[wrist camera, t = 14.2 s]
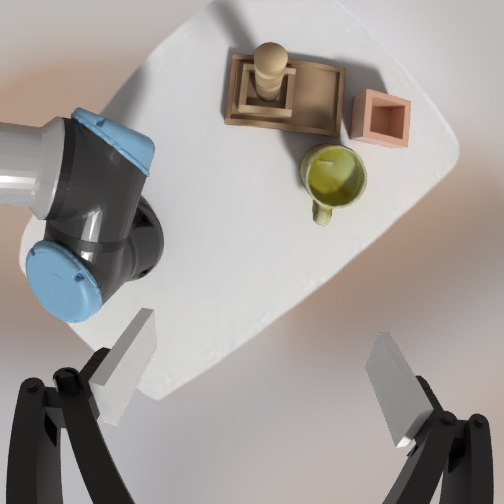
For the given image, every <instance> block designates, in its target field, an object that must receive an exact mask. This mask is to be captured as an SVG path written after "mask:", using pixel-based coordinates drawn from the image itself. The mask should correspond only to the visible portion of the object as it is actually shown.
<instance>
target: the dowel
mask: <svg viewBox="0 0 504 504" xmlns="http://www.w3.org/2000/svg"><path fill="white" fill-rule="evenodd" d="M287 60H288V54H287V52H286V50H285V49H284V48H283V47H282V46H281V45H279V44H277V43H272V42H269V43H264V44H262V45H260V46H259V47H257V49H256V50H255V52H254V66H255V82H256V94H257V96H258V98H259V99H261V100H262V101H265V102H270V101H273V100H275V99H276V98H277V97H278V95H279V91H280V87H281V83H282V79H283V75H284V72H285V68H286V64H287Z"/></svg>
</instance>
